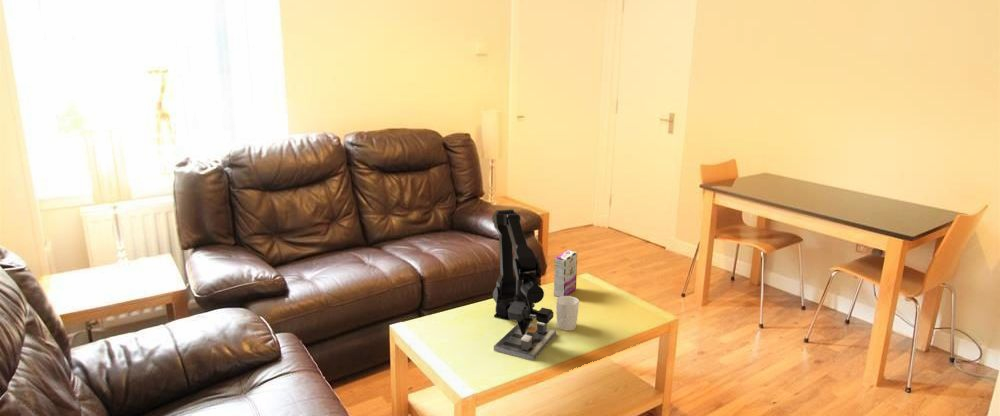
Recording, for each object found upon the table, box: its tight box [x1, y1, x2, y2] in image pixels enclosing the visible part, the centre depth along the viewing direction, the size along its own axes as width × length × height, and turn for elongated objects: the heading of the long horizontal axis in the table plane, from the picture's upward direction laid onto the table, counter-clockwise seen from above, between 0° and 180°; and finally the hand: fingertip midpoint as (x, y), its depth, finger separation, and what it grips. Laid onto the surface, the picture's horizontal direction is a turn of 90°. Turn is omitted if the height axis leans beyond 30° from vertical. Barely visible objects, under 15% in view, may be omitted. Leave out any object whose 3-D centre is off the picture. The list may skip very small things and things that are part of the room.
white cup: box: [555, 295, 580, 332], centre depth 212 cm, size 8×8×10 cm
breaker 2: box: [527, 326, 538, 341], centre depth 200 cm, size 2×3×4 cm
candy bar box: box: [553, 249, 578, 298], centre depth 240 cm, size 11×5×16 cm, turn 148°
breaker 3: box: [536, 321, 548, 334], centre depth 205 cm, size 2×3×4 cm
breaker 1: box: [521, 335, 532, 350], centre depth 194 cm, size 2×3×4 cm
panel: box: [493, 323, 557, 361], centre depth 201 cm, size 14×20×2 cm
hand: (523, 334), depth 201 cm, fingers closed
